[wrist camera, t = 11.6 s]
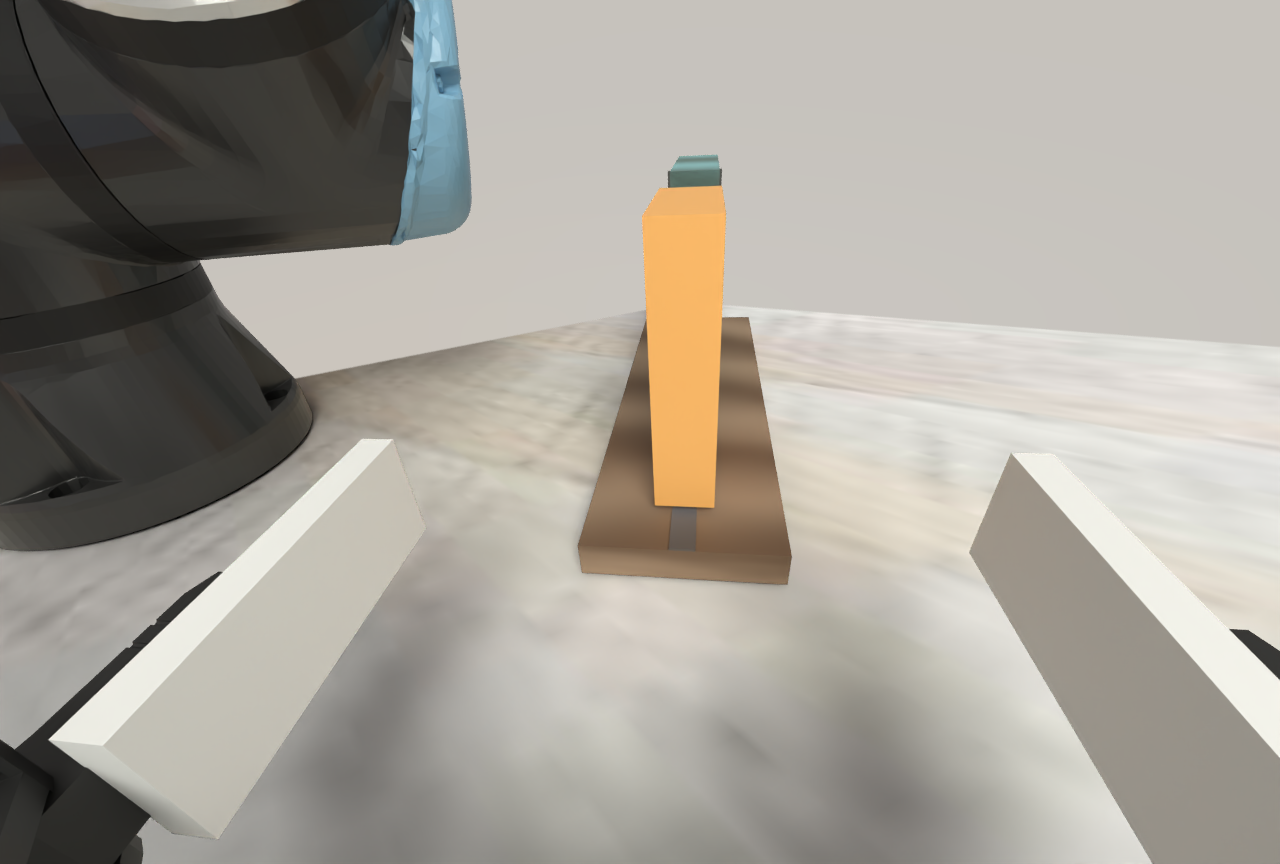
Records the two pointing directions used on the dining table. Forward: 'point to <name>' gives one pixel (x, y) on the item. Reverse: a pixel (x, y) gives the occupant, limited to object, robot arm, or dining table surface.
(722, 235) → the stub
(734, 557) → the ticket stand
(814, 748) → the dining table surface
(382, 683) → the dining table surface
